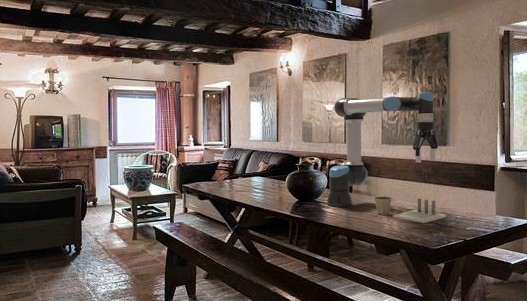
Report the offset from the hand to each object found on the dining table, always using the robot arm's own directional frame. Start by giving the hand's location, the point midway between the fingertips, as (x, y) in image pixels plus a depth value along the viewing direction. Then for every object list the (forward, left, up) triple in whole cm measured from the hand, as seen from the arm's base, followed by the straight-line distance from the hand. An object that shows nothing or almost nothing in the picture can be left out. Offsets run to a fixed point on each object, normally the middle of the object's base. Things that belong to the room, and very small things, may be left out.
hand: (425, 161), depth 230 cm
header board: (+3, -10, -28) cm, 30 cm away
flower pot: (-15, -16, -28) cm, 36 cm away
